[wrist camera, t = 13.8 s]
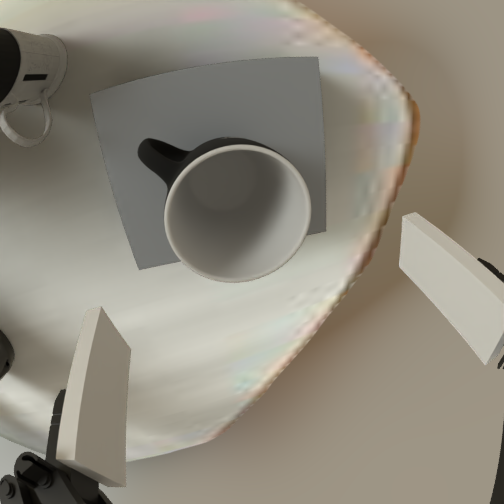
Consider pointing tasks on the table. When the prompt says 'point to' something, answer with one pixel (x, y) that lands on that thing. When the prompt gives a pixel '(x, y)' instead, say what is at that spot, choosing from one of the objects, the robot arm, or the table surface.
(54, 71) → the glass holder
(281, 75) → the large grey square box
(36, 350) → the table surface
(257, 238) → the mug
